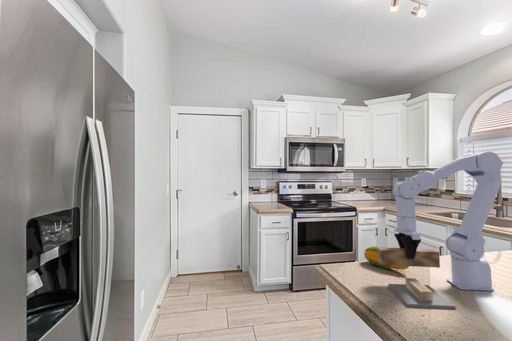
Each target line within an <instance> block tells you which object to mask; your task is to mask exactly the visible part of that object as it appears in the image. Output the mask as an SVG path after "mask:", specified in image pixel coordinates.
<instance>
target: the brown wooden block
mask: <svg viewBox="0 0 512 341" xmlns="http://www.w3.org/2000/svg"><path fill="white" fill-rule="evenodd" d="M376 247H377V246H376ZM377 250H378V262H379V263H380V264H381V265H395V266H409V267H418V268H420V267H421V268H439V269H440V267H441V266H440V265H441V264H440V262H441V260H440V259H441V258H440V251H438V250H436V249H434V248H433V249H432V248H417V250H416V255H415V259H407V257H406V253H405V248H400V247H381V246H380V247H379V246H378V247H377Z"/></svg>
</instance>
